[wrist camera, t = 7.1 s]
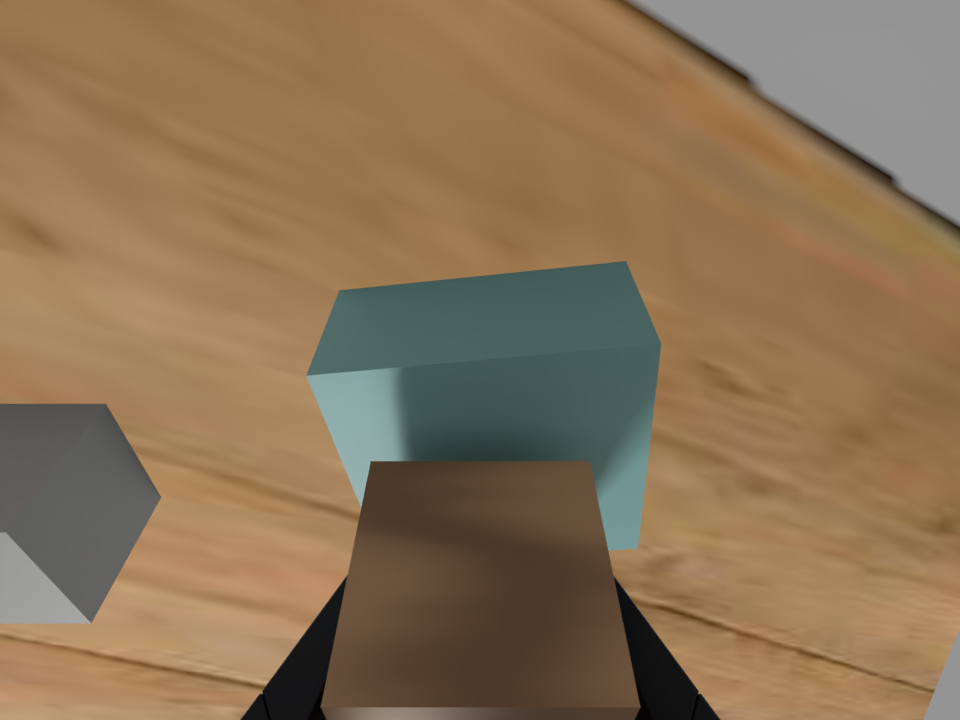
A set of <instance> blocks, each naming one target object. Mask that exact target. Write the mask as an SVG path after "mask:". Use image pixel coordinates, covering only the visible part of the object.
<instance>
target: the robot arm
mask: <svg viewBox="0 0 960 720" xmlns="http://www.w3.org/2000/svg"><path fill="white" fill-rule="evenodd" d="M347 576H348V574H347ZM347 576H346V577H345V579H344V580H343V581H342V583H341V584H340V585H339V587H338V588H337V589H336V591H335V592H334V594H333V595H332V596H331V598H330V599H329V600H328V602H327V603H326V604H325V606H324V607H323V609H322V610H321V611H320V613H319V614H318V615H317V617H316V618H315V619H314V621H313V622H312V624H311V625H310V626H309V628H308V629H307V630H306V632H305V633H304V634H303V636H302V637H301V639H300V640H299V641H298V643H297V644H296V645H295V647H294V648H293V649H292V651H291V652H290V654H289V655H288V656H287V658H286V659H285V660H284V662H283V663H282V664H281V666H280V667H279V669H278V670H277V671H276V673H275V674H274V675H273V677H272V678H271V679H270V681H269V682H268V684H267V685H266V686H265V688H264V689H263V691H262V693H263V694H262V693H261V694H259V695H258V696H257V698H256V699H255V701H254V702H253V703H252V705H251V706H250V707H249V709H248V710H247V711H246V713H245V714H244V715H243V717H242V718H241V719H240V720H326V718H325V715H324V713H323V711H322V709H321V703H322V698H323V693H324V688H325V684H326V679H327V674H328V669H329V664H330V659H331V654H332V649H333V644H334V639H335V634H336V630H337V625H338V620H339V615H340V610H341V605H342V600H343V595H344V590H345V585H346V580H347ZM613 576H614V575H613ZM614 581H615V586H616V590H617V595H618V600H619V605H620V610H621V615H622V620H623V625H624V629H625V634H626V639H627V644H628V649H629V654H630V659H631V664H632V669H633V673H634V678H635V683H636V688H637V693H638V698H639V703H640V709H639V712H638V714H637V716H636V718H635V720H721V719H720V718H719V717H718V715H717V714H716V713H715V711H714V710H713V709H712V707H711V706H710V705H709V703H708V702H707V701H706V699H705V698H704V696H703V695H702V694H700V693H699V691H698V689H697V688H696V686H695V685H694V684H693V682H692V681H691V679H690V678H689V677H688V675H687V674H686V673H685V671H684V670H683V669H682V667H681V666H680V665H679V663H678V662H677V660H676V659H675V658H674V656H673V655H672V654H671V652H670V651H669V650H668V648H667V647H666V645H665V644H664V643H663V641H662V640H661V639H660V637H659V636H658V635H657V633H656V632H655V631H654V629H653V628H652V626H651V625H650V624H649V622H648V621H647V620H646V618H645V617H644V616H643V614H642V613H641V611H640V610H639V609H638V607H637V606H636V605H635V603H634V602H633V601H632V599H631V598H630V597H629V595H628V594H627V592H626V591H625V590H624V588H623V587H622V586H621V584H620V583H619V582H618V580H617V579H616V578H615V576H614ZM698 693H699V694H698Z"/></svg>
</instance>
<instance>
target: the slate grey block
mask: <svg viewBox="0 0 960 720" xmlns="http://www.w3.org/2000/svg"><path fill="white" fill-rule="evenodd" d="M160 499H161V496H160V494H159V492H158V491H157V489H156V487H155V486H154V484H153V482H152V481H151V479H150V477H149V476H148V474H147V472H146V470H145V469H144V467H143V465H142V464H141V462H140V460H139V459H138V457H137V455H136V454H135V452H134V450H133V449H132V447H131V445H130V443H129V442H128V440H127V438H126V437H125V435H124V433H123V432H122V430H121V428H120V427H119V425H118V423H117V422H116V420H115V418H114V416H113V415H112V413H111V411H110V410H109V408H108V406H107V405H106V404H0V624H49V623H92V621H93V619H94V618H95V616H96V614H97V612H98V610H99V609H100V607H101V605H102V603H103V601H104V600H105V598H106V596H107V594H108V592H109V591H110V589H111V587H112V585H113V583H114V582H115V580H116V578H117V576H118V574H119V573H120V571H121V569H122V567H123V565H124V564H125V562H126V560H127V558H128V556H129V555H130V553H131V551H132V549H133V547H134V546H135V544H136V542H137V540H138V538H139V537H140V535H141V533H142V531H143V529H144V528H145V526H146V524H147V522H148V520H149V519H150V517H151V515H152V513H153V511H154V510H155V508H156V506H157V504H158V502H159V501H160Z"/></svg>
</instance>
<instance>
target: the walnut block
mask: <svg viewBox="0 0 960 720" xmlns="http://www.w3.org/2000/svg"><path fill="white" fill-rule="evenodd" d="M321 709H322V711H323V713H324V715H325V718H326V720H635V718H636V716H637V714H638V712H639V709H640V703H639V698H638V693H637V688H636V683H635V678H634V673H633V669H632V664H631V659H630V654H629V649H628V644H627V639H626V634H625V629H624V625H623V620H622V615H621V610H620V605H619V600H618V595H617V590H616V586H615V581H614V576H613V571H612V566H611V561H610V556H609V551H608V546H607V542H606V537H605V532H604V527H603V522H602V517H601V512H600V507H599V503H598V498H597V493H596V488H595V483H594V478H593V473H592V468H591V463H590V461H371V463H370V467H369V472H368V477H367V482H366V487H365V492H364V497H363V502H362V507H361V512H360V517H359V521H358V526H357V531H356V536H355V541H354V546H353V551H352V556H351V561H350V566H349V571H348V576H347V580H346V585H345V590H344V595H343V600H342V605H341V610H340V615H339V620H338V625H337V630H336V634H335V639H334V644H333V649H332V654H331V659H330V664H329V669H328V674H327V679H326V684H325V688H324V693H323V698H322V703H321Z"/></svg>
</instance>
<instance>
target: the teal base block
mask: <svg viewBox="0 0 960 720" xmlns="http://www.w3.org/2000/svg"><path fill="white" fill-rule="evenodd" d="M660 351H661V342H660V340H659V337H658V335H657V333H656V330H655V328H654V326H653V323H652V321H651V318H650V316H649V314H648V311H647V309H646V307H645V304H644V302H643V300H642V297H641V295H640V293H639V290H638V288H637V286H636V283H635V281H634V279H633V276H632V274H631V272H630V269H629V267H628V265H627V262H626V261H622V262H612V263H602V264H592V265H582V266H573V267H563V268H553V269H543V270H533V271H524V272H514V273H504V274H494V275H484V276H474V277H465V278H455V279H445V280H435V281H425V282H416V283H406V284H396V285H386V286H376V287H367V288H357V289H347V290H339V292H338V295H337V297H336V300H335V303H334V305H333V308H332V310H331V313H330V316H329V318H328V321H327V323H326V326H325V328H324V331H323V334H322V336H321V339H320V341H319V344H318V346H317V349H316V352H315V354H314V357H313V359H312V362H311V365H310V367H309V370H308V372H307V375H306V377H307V379H308V381H309V384H310V386H311V389H312V391H313V393H314V396H315V398H316V401H317V403H318V405H319V408H320V410H321V413H322V415H323V417H324V420H325V422H326V425H327V427H328V429H329V432H330V434H331V437H332V439H333V441H334V444H335V446H336V449H337V451H338V453H339V456H340V458H341V461H342V463H343V465H344V468H345V470H346V473H347V475H348V477H349V480H350V482H351V485H352V487H353V489H354V492H355V494H356V497H357V499H358V501H359V504H360V506H361V507H362V502H363V497H364V492H365V487H366V482H367V477H368V472H369V467H370V463H371V461H590V463H591V468H592V473H593V478H594V483H595V488H596V493H597V498H598V503H599V507H600V512H601V517H602V522H603V527H604V532H605V537H606V542H607V546H608V550H625V549H638V543H639V534H640V526H641V517H642V508H643V499H644V491H645V482H646V473H647V465H648V456H649V447H650V438H651V430H652V421H653V412H654V403H655V395H656V386H657V377H658V369H659V360H660Z"/></svg>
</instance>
